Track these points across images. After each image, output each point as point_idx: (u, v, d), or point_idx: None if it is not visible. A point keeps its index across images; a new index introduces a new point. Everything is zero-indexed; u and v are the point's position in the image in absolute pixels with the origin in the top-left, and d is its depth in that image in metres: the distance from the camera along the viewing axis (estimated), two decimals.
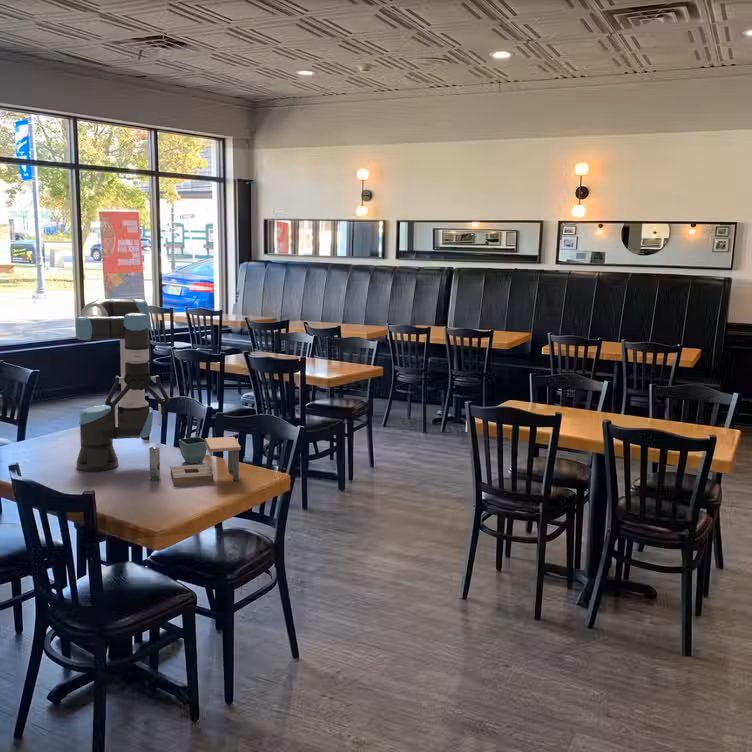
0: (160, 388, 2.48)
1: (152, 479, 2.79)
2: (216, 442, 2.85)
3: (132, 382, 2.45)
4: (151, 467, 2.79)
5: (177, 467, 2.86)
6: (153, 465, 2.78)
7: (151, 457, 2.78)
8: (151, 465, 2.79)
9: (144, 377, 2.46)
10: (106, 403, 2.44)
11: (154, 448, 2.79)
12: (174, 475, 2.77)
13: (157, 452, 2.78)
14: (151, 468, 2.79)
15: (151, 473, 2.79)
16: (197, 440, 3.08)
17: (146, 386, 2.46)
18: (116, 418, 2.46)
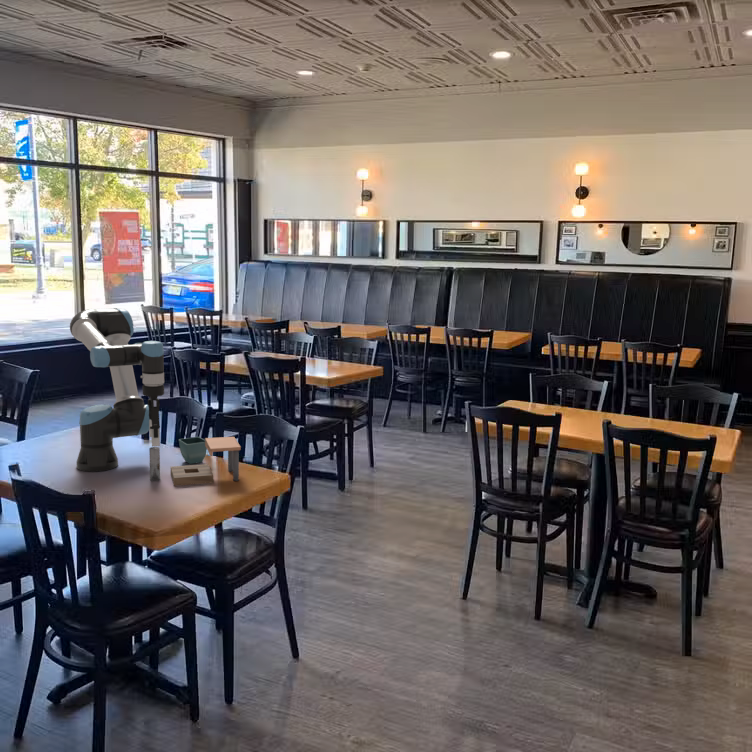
0: (151, 412, 2.69)
1: (152, 479, 2.79)
2: (216, 442, 2.85)
3: None
4: (151, 467, 2.79)
5: (177, 467, 2.86)
6: (153, 465, 2.78)
7: (151, 457, 2.78)
8: (151, 465, 2.79)
9: (150, 399, 2.73)
10: None
11: (154, 448, 2.79)
12: (174, 475, 2.77)
13: (157, 452, 2.78)
14: (151, 468, 2.79)
15: (151, 473, 2.79)
16: (197, 440, 3.08)
17: (149, 407, 2.73)
18: (149, 429, 2.84)
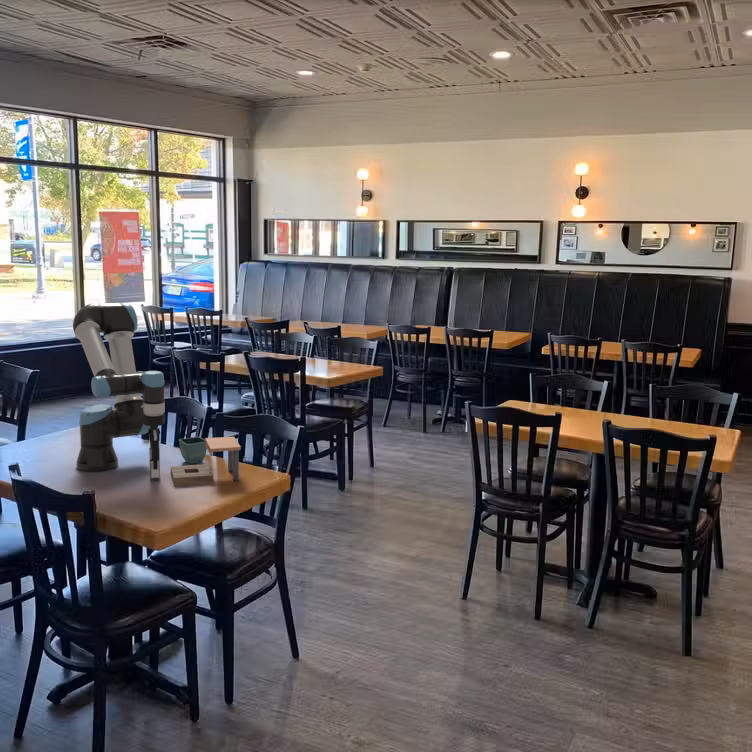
0: (151, 445, 2.74)
1: (152, 479, 2.79)
2: (216, 442, 2.85)
3: (148, 430, 2.79)
4: None
5: (177, 467, 2.86)
6: None
7: (151, 457, 2.78)
8: None
9: (151, 428, 2.75)
10: None
11: None
12: (174, 475, 2.77)
13: None
14: None
15: None
16: (197, 440, 3.08)
17: (149, 437, 2.76)
18: None
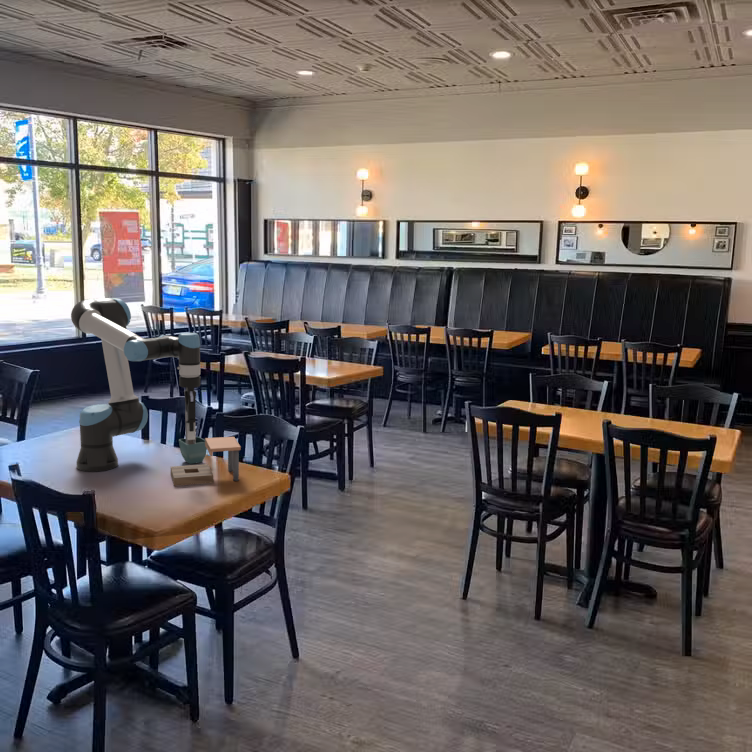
0: (188, 406, 2.73)
1: (188, 442, 2.79)
2: (216, 442, 2.85)
3: (184, 392, 2.79)
4: None
5: (177, 467, 2.86)
6: None
7: (187, 420, 2.78)
8: None
9: (187, 389, 2.75)
10: None
11: None
12: (174, 475, 2.77)
13: None
14: None
15: None
16: (197, 440, 3.08)
17: (185, 399, 2.76)
18: None
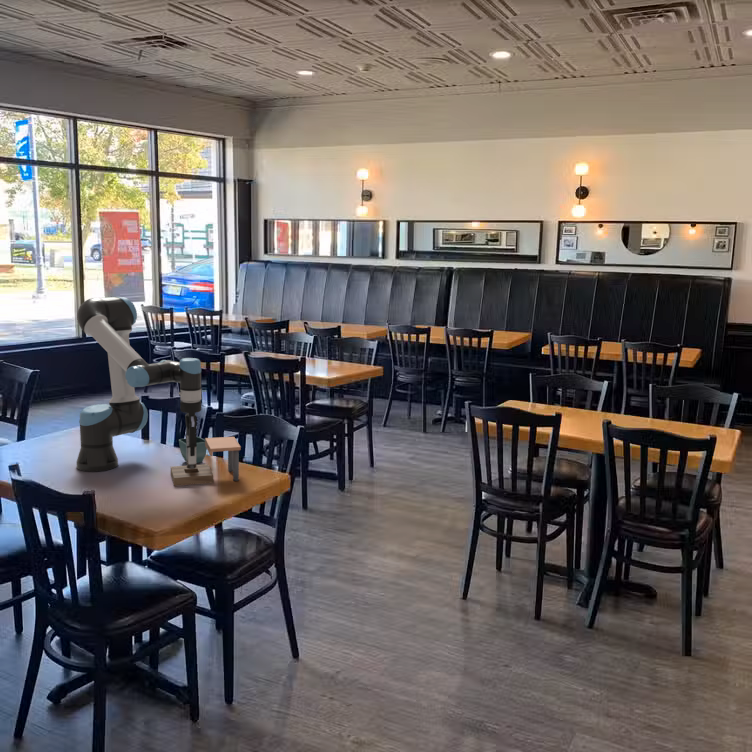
0: (189, 431, 2.75)
1: (189, 467, 2.81)
2: (216, 442, 2.85)
3: (185, 417, 2.80)
4: None
5: (177, 467, 2.86)
6: None
7: None
8: None
9: (188, 415, 2.77)
10: None
11: None
12: (174, 475, 2.77)
13: None
14: None
15: None
16: (197, 440, 3.08)
17: (186, 424, 2.78)
18: None
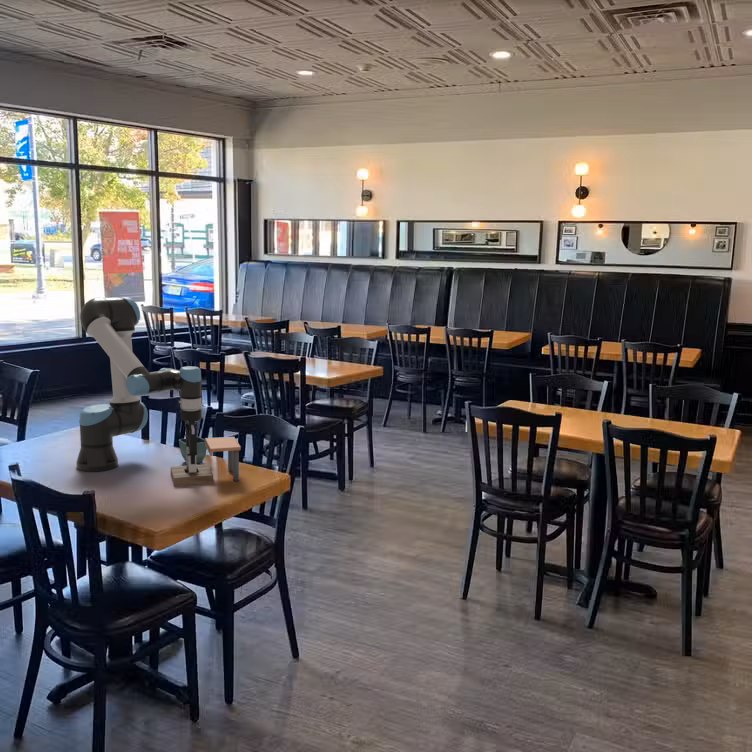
0: (189, 439, 2.75)
1: None
2: (216, 442, 2.85)
3: (185, 425, 2.81)
4: (188, 466, 2.81)
5: (177, 467, 2.86)
6: None
7: (188, 456, 2.81)
8: (188, 464, 2.81)
9: (188, 423, 2.77)
10: None
11: None
12: (174, 475, 2.77)
13: None
14: (188, 467, 2.81)
15: (188, 472, 2.82)
16: (197, 440, 3.08)
17: (187, 432, 2.78)
18: None
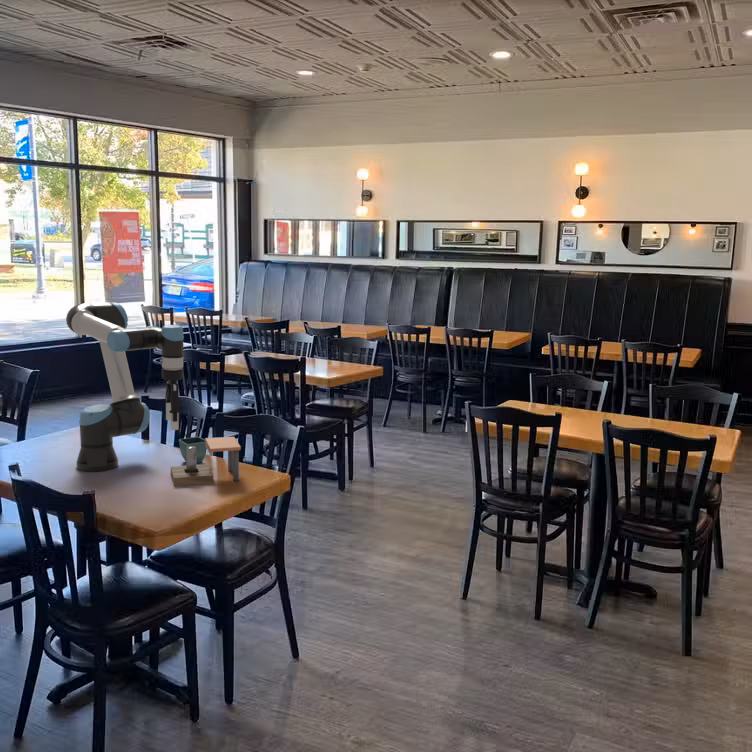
0: (171, 396, 2.70)
1: None
2: (216, 442, 2.85)
3: (166, 384, 2.77)
4: (188, 466, 2.81)
5: (177, 467, 2.86)
6: (189, 464, 2.81)
7: (188, 456, 2.81)
8: (188, 464, 2.81)
9: (169, 383, 2.74)
10: (165, 397, 2.86)
11: (191, 447, 2.81)
12: (174, 475, 2.77)
13: (194, 451, 2.81)
14: (188, 467, 2.81)
15: (188, 472, 2.82)
16: (197, 440, 3.08)
17: (168, 391, 2.74)
18: (166, 412, 2.85)
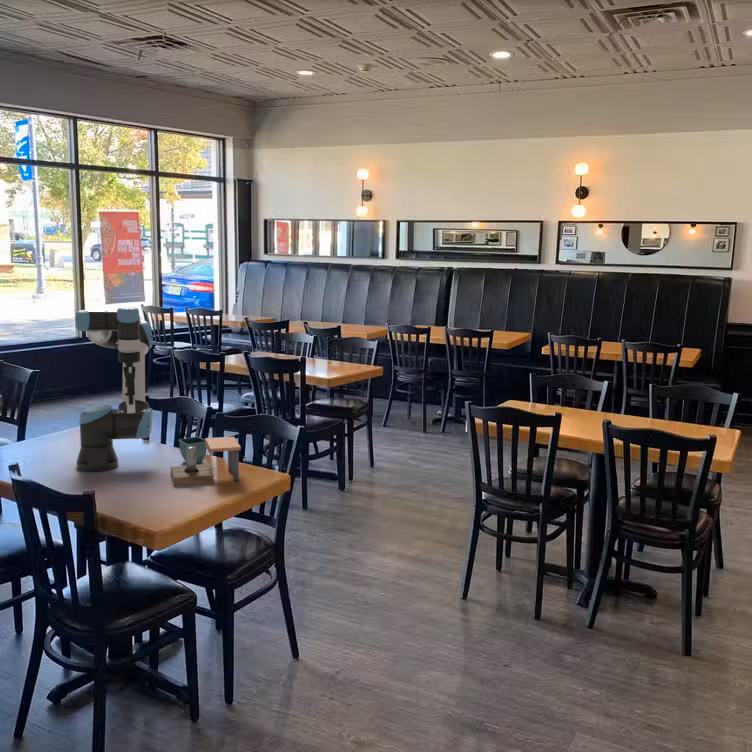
0: (126, 379, 2.66)
1: None
2: (216, 442, 2.85)
3: (123, 368, 2.74)
4: (188, 466, 2.81)
5: (177, 467, 2.86)
6: (189, 464, 2.81)
7: (188, 456, 2.81)
8: (188, 464, 2.81)
9: (126, 366, 2.70)
10: (125, 382, 2.83)
11: (191, 447, 2.81)
12: (174, 475, 2.77)
13: (194, 451, 2.81)
14: (188, 467, 2.81)
15: (188, 472, 2.82)
16: (197, 440, 3.08)
17: (124, 374, 2.70)
18: (125, 397, 2.81)
